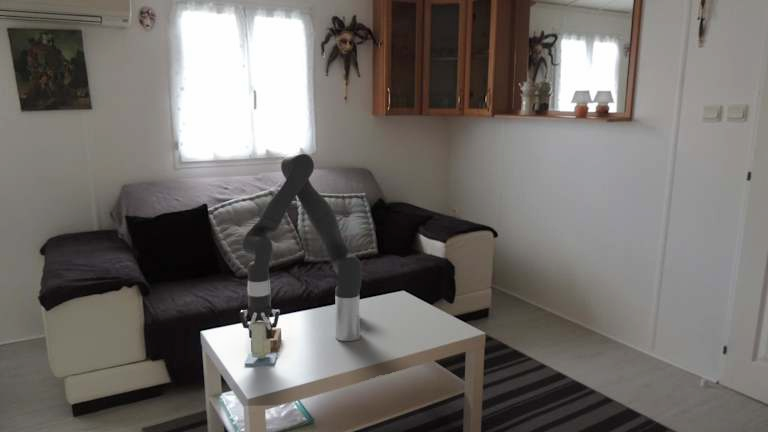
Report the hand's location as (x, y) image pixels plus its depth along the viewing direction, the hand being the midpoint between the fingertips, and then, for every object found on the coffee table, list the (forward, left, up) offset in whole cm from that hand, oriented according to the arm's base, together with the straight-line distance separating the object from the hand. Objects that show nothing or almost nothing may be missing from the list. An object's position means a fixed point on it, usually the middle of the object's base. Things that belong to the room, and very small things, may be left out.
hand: (260, 338), depth 195 cm
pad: (0, 0, -8) cm, 8 cm away
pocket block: (0, -13, -8) cm, 15 cm away
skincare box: (0, 0, -6) cm, 6 cm away
